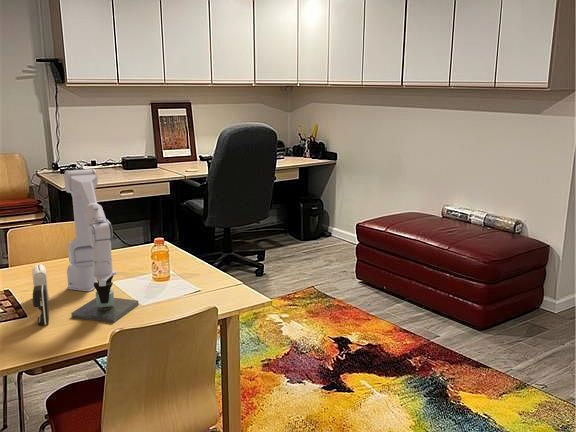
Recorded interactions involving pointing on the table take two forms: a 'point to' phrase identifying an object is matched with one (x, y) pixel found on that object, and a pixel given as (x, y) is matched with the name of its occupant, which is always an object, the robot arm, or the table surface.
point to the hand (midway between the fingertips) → (105, 299)
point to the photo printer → (40, 277)
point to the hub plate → (105, 310)
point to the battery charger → (41, 303)
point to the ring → (110, 302)
